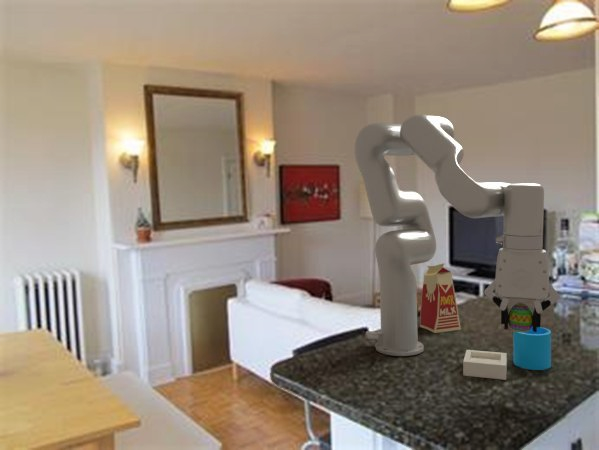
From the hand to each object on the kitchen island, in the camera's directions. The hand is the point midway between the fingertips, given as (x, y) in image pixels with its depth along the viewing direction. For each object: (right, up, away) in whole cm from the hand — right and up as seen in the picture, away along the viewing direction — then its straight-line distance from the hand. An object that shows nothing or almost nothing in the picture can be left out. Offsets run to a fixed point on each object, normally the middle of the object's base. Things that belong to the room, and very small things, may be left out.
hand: (520, 328), depth 109 cm
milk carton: (-4, -10, +48) cm, 49 cm away
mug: (+10, -12, +16) cm, 22 cm away
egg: (0, -1, 0) cm, 1 cm away
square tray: (-3, -12, +11) cm, 16 cm away
